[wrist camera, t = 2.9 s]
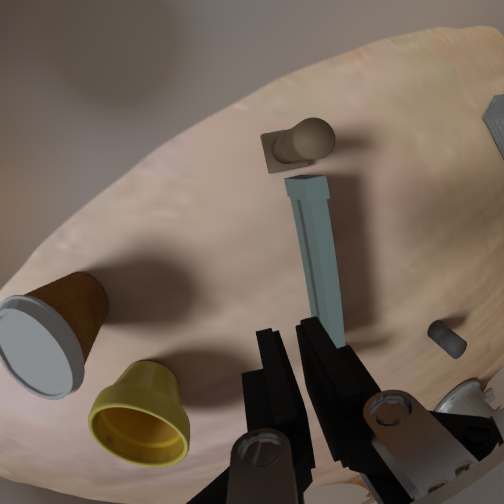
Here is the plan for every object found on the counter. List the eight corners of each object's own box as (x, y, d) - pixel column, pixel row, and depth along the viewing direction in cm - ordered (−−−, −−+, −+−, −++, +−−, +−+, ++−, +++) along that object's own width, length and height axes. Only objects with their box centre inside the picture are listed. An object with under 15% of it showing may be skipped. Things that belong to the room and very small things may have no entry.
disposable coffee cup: (53, 246, 26) (-17, 284, 15) (129, 273, 28) (79, 332, 16) (48, 319, 28) (-5, 374, 17) (116, 347, 30) (80, 419, 18)
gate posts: (440, 333, 34) (483, 369, 24) (308, 383, 33) (332, 441, 24) (429, 117, 26) (491, 107, 17) (260, 135, 26) (280, 114, 16)
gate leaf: (328, 345, 30) (350, 382, 24) (314, 349, 30) (333, 387, 24) (301, 175, 25) (326, 175, 19) (284, 178, 25) (303, 179, 19)
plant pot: (212, 390, 32) (211, 452, 23) (154, 420, 33) (142, 475, 24) (152, 331, 30) (128, 388, 20) (97, 369, 30) (69, 422, 21)
